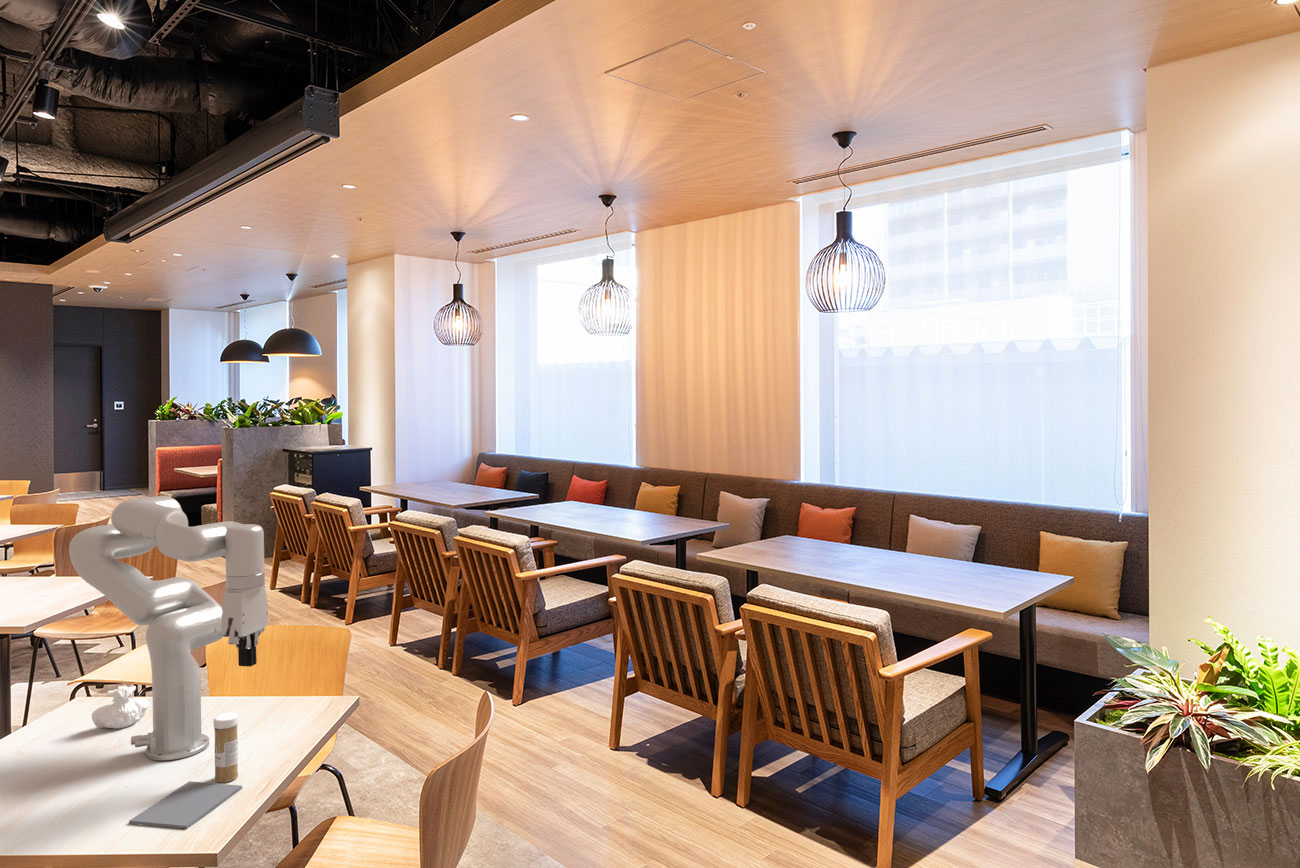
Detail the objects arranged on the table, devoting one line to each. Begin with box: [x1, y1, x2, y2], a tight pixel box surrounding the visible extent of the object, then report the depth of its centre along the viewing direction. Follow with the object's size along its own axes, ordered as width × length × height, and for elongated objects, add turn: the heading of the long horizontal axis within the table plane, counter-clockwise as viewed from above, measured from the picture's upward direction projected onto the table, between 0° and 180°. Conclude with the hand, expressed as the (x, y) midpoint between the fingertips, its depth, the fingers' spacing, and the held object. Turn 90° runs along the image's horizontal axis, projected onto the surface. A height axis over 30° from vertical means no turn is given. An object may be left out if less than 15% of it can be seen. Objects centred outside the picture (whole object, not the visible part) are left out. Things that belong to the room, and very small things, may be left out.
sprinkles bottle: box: [213, 712, 239, 784], centre depth 171 cm, size 5×5×14 cm
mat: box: [128, 780, 243, 830], centre depth 160 cm, size 16×12×1 cm
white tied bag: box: [91, 684, 150, 730], centre depth 198 cm, size 12×8×11 cm
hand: (247, 664), depth 177 cm, fingers closed
